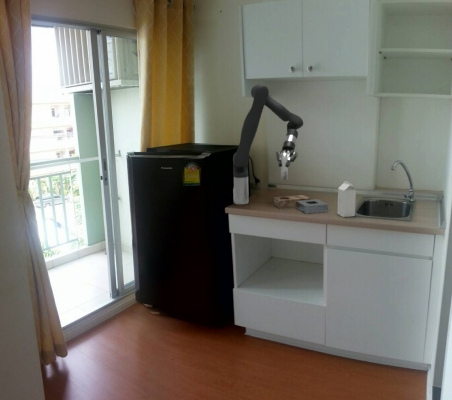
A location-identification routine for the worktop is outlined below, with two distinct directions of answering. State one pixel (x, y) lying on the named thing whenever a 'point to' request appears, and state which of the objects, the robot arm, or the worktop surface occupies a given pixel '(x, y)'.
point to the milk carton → (346, 200)
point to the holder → (312, 206)
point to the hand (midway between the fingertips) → (283, 166)
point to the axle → (284, 165)
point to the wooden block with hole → (288, 201)
